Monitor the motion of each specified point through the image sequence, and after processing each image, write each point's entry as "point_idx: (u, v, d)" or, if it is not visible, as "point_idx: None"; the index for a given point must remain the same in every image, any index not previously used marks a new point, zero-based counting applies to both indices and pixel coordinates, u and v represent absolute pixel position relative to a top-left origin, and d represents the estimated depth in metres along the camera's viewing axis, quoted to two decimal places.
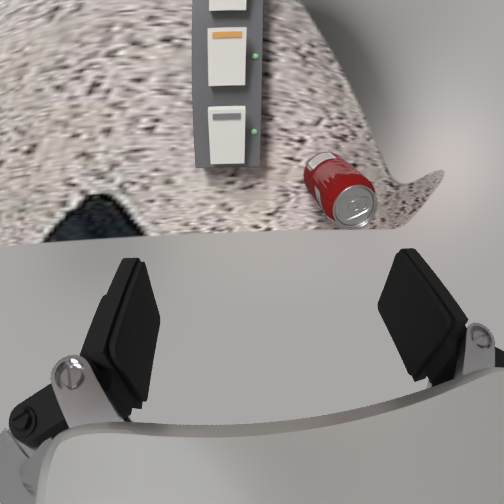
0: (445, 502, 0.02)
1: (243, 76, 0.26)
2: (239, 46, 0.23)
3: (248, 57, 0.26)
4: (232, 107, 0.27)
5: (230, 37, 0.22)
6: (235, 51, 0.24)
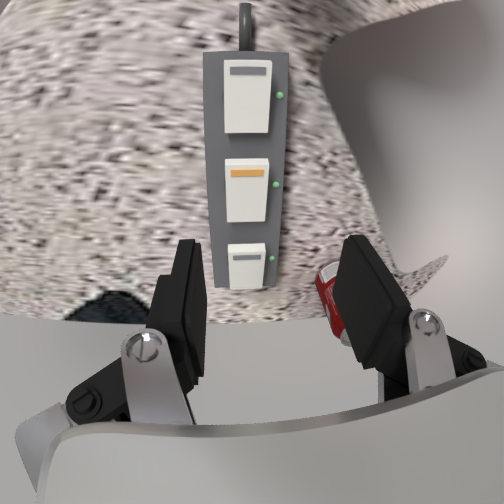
0: (445, 502, 0.02)
1: (263, 213, 0.29)
2: (260, 185, 0.26)
3: (268, 185, 0.29)
4: (252, 246, 0.30)
5: (251, 175, 0.25)
6: (255, 189, 0.27)
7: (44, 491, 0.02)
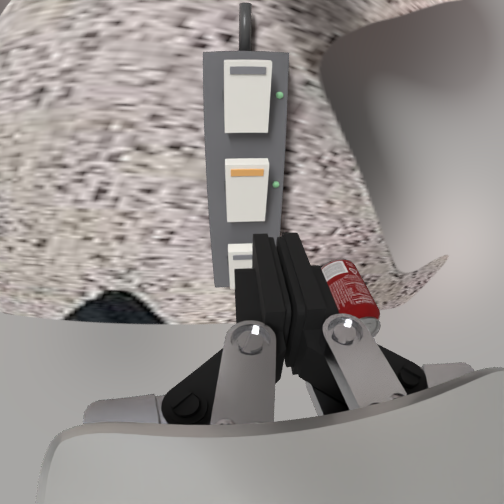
0: (445, 502, 0.02)
1: (263, 213, 0.29)
2: (260, 185, 0.26)
3: (268, 185, 0.29)
4: None
5: (251, 175, 0.25)
6: (255, 189, 0.27)
7: (44, 491, 0.02)
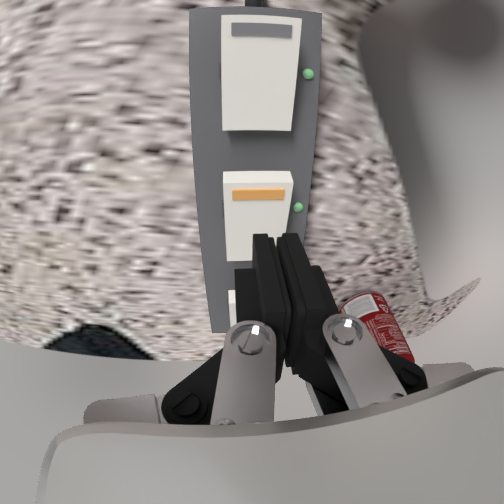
0: (445, 502, 0.02)
1: None
2: (278, 212, 0.17)
3: None
4: None
5: (263, 198, 0.16)
6: (270, 218, 0.18)
7: (44, 491, 0.02)
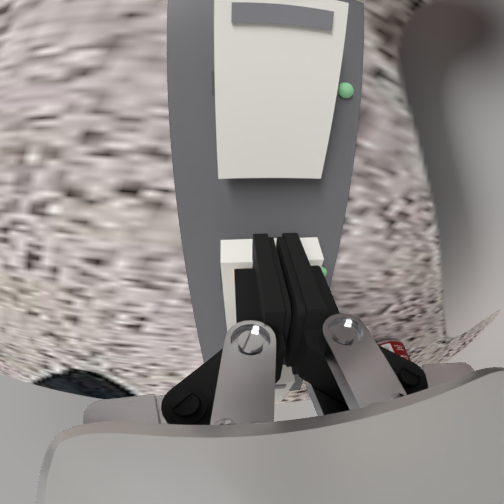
0: (445, 502, 0.02)
1: None
2: None
3: None
4: None
5: None
6: None
7: (44, 491, 0.02)
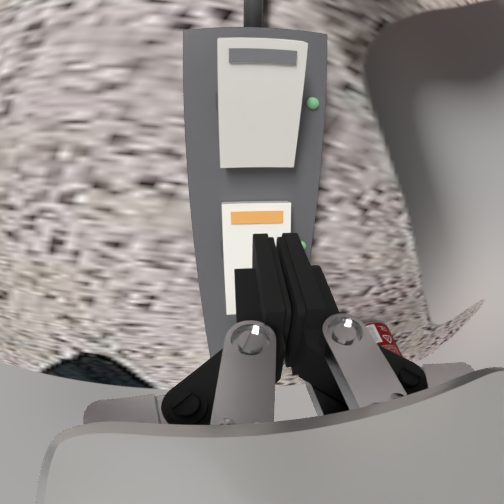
0: (445, 502, 0.02)
1: None
2: None
3: None
4: None
5: (263, 223, 0.16)
6: None
7: (44, 491, 0.02)
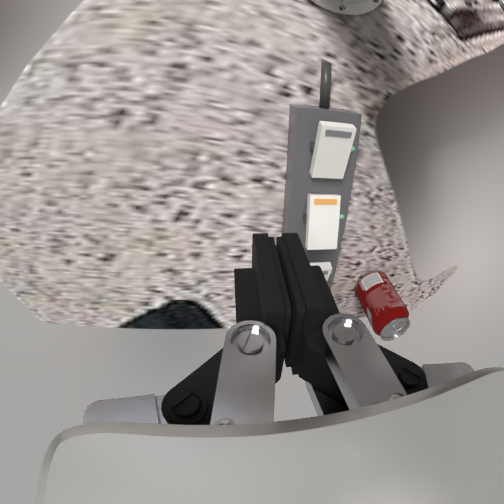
0: (445, 502, 0.02)
1: (336, 241, 0.35)
2: (334, 213, 0.34)
3: None
4: (321, 265, 0.38)
5: (328, 204, 0.33)
6: (331, 217, 0.34)
7: (44, 491, 0.02)
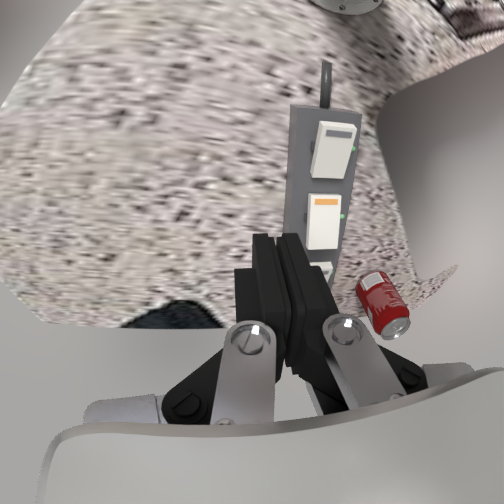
0: (445, 502, 0.02)
1: (336, 240, 0.35)
2: (335, 213, 0.34)
3: None
4: (322, 264, 0.38)
5: (328, 204, 0.33)
6: (331, 217, 0.34)
7: (44, 491, 0.02)
